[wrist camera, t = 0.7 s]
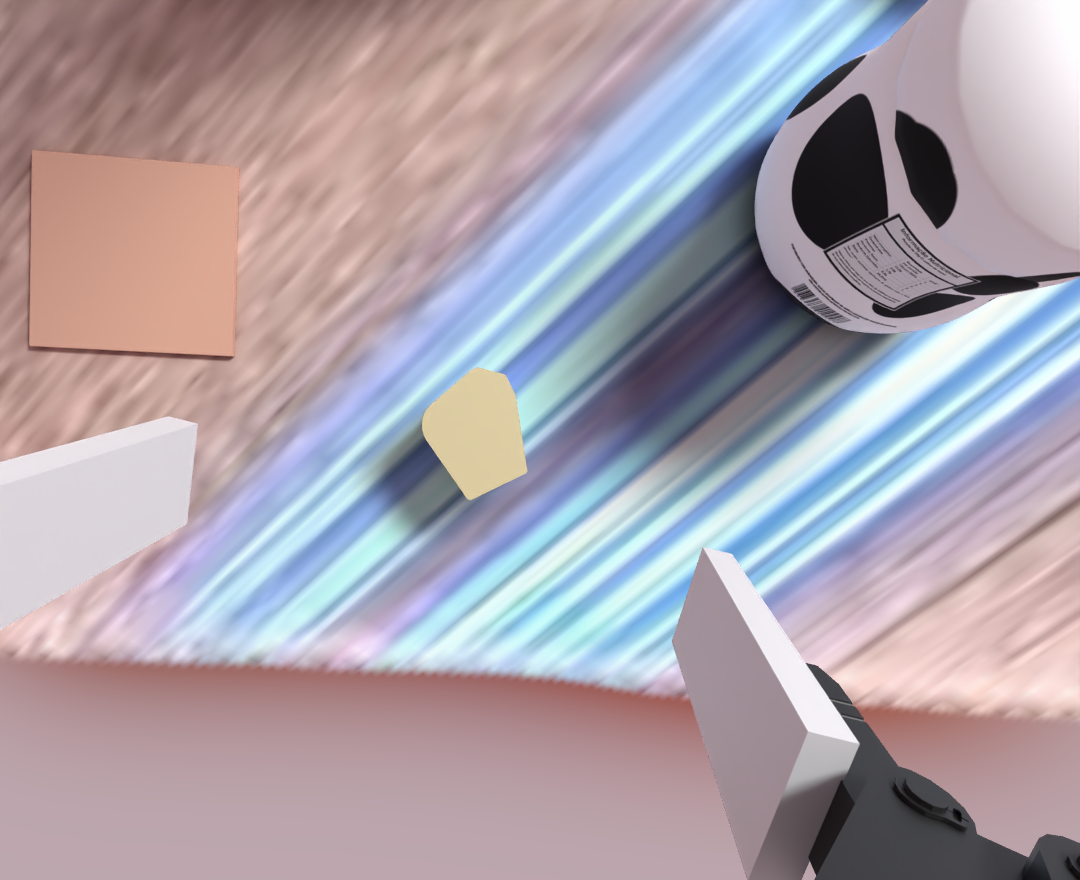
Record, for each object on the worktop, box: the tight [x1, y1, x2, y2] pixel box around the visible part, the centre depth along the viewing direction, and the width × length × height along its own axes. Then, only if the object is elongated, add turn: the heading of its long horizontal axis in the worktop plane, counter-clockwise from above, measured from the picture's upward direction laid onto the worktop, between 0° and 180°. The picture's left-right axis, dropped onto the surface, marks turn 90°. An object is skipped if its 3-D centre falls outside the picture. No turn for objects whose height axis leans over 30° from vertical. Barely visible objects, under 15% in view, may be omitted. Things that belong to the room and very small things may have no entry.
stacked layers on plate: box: [422, 368, 527, 500], centre depth 37 cm, size 10×9×6 cm
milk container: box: [755, 0, 1080, 333], centre depth 33 cm, size 17×17×18 cm
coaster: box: [29, 150, 239, 357], centre depth 37 cm, size 12×12×1 cm
